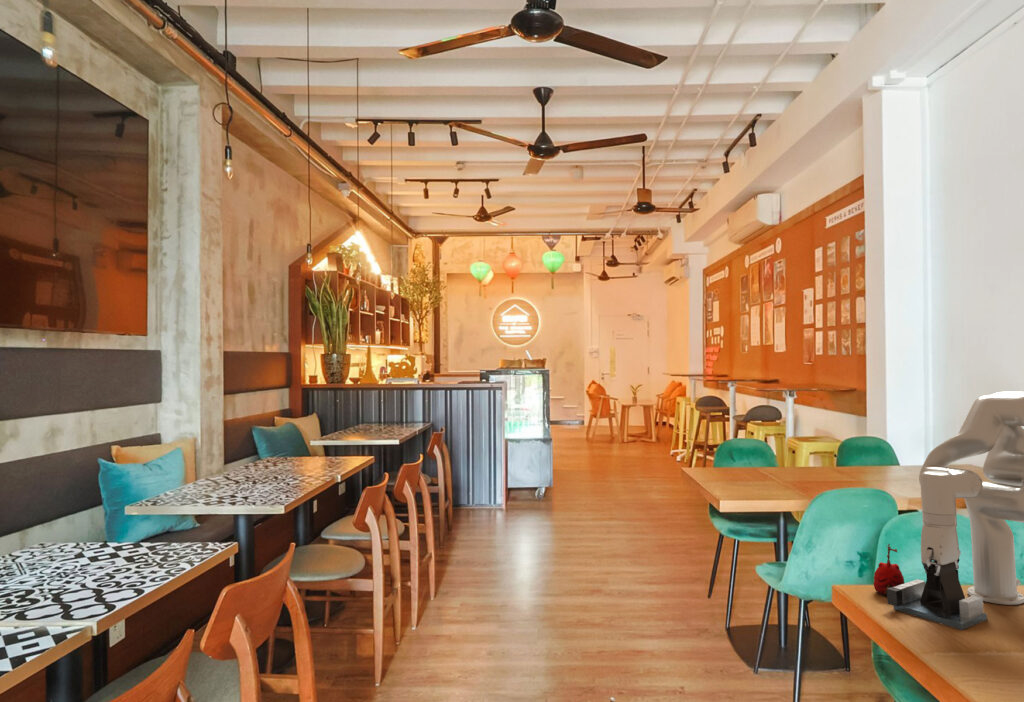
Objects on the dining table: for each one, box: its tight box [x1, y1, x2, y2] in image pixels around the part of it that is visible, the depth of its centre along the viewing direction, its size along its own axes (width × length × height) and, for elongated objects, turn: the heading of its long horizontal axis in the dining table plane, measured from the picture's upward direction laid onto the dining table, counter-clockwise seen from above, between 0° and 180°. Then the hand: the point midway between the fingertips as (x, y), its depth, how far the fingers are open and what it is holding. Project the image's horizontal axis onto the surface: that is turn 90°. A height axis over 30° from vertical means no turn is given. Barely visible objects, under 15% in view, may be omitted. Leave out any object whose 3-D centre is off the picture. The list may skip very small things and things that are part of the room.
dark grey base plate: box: [893, 595, 988, 631], centre depth 165 cm, size 12×16×6 cm
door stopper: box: [920, 561, 966, 614], centre depth 166 cm, size 9×6×12 cm, turn 16°
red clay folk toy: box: [873, 543, 905, 597], centre depth 181 cm, size 8×7×15 cm
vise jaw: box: [886, 579, 926, 607], centre depth 171 cm, size 14×2×4 cm, turn 119°
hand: (943, 586), depth 166 cm, fingers open, 7 cm apart
